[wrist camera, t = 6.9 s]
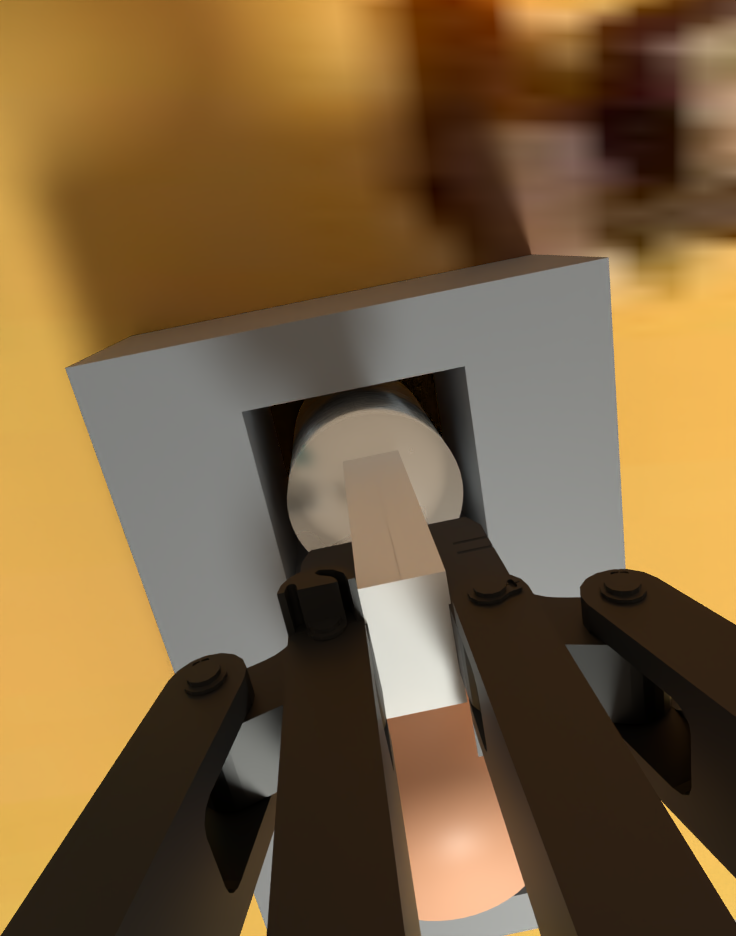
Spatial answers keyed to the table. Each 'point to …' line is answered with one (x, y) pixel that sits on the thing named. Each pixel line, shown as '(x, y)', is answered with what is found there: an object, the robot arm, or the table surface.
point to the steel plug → (360, 435)
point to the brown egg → (451, 816)
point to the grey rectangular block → (344, 368)
